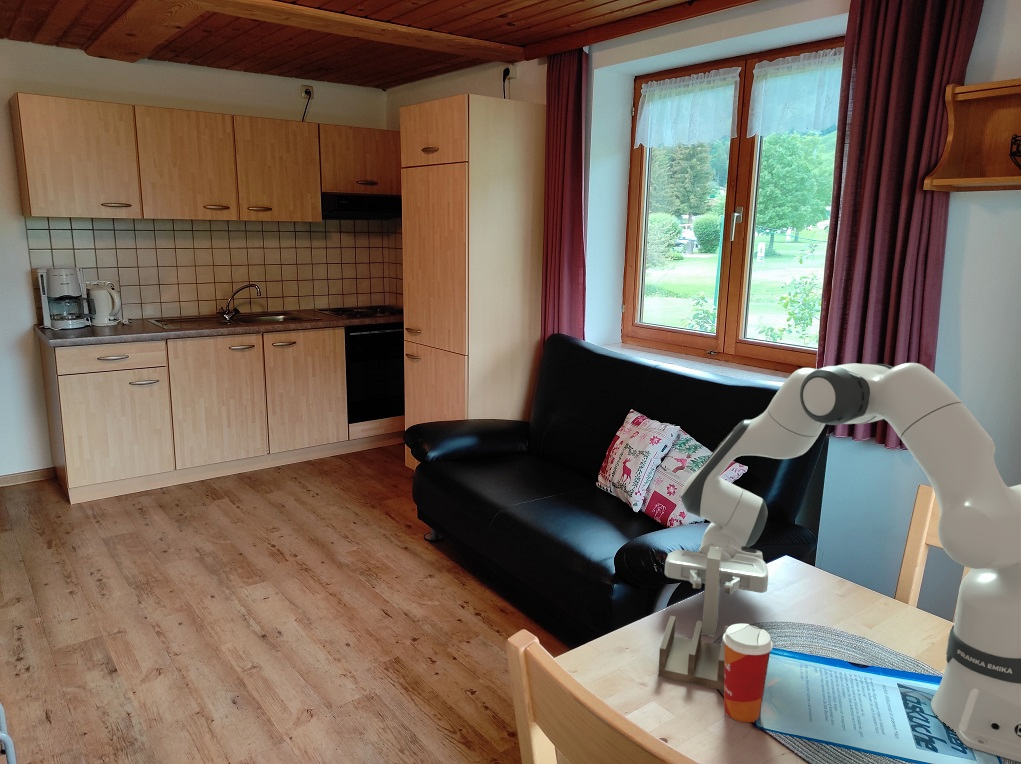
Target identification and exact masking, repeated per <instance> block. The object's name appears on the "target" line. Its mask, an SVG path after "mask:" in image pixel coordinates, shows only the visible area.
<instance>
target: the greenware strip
mask: <svg viewBox="0 0 1021 764" xmlns="http://www.w3.org/2000/svg"><path fill="white" fill-rule="evenodd" d="M722 552H723V548H722V547H715V546H710V549H709V553H708V556H707V567H706V581H705V583H704V596H703V597H704V598H703V609H702V610H703V611H702V612H703V613H702V622H703V623H702V635H705V636H709V637H716V636H715V635H716V631H717V626H718V619H719V616H718V615H719V603H720V592H721V591H720V589H721V586H720V579H721V566H722Z"/></svg>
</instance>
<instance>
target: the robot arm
mask: <svg viewBox="0 0 1021 764" xmlns="http://www.w3.org/2000/svg"><path fill="white" fill-rule="evenodd" d="M775 393H776V394H775V395H774V396H773V397H772V399H771V401H770V403H769V404H768V406H767V408H766V409H765V410H764V411H763V412H762V413H760V414H759V415H758V416H756V417H755V418H752V419H742V420H741V421H740V422H738V424H737V425H735V426H734V427H733V428H732V430H731V431H730V432H729V433H728V434H727V435H726V436H725V438H723V440H722V441H721V442H720V443H719V444H718V445H717V447H716V448H715V449H714V451H713V452H712V453H711V454H710V455H709V456H708V457H707V459H706V460H705V461H704V463H703V464H702V465H701V466H700V467H699V468H698V469H697V470H696V471H695V472H694V473H693V474H692V475H691V476H690V477H688V479H687V480H686V481H685V484H684V485H683V487H682V490H681V493H680V500H681V503H682V504H683V507H684V509H685V510H686V513H689V514H692V515H694V516H697V517H699V518H702V519H704V520H707V521H709V522H710V524H709V525H708V526H707V527H706V529H705V531H704V533H703V535H702V538H701V544H700V545H699V549H698V552H697V551H692V550H691V551H690V550H684V549H675V550H674V549H673V551H671V552H668V554H667V557H666V559H665V564H664V575H665V576H666V577H667V578H670V579H675V580H683V581H688V582H690V583H691V584H692V588H693V589H698V590H701V588H702V584H705V581H706V567H707V556H708V553H709V549H710V546H715V547H722V548H723V552H722V566H721V579H720V587H722V588H724V592H723V593H724V594H726V595H733V592H735V591H737V590H742V591H747V592H753V593H754V592H755V593H759V594H760V593H761V594H763V593H766V592H767V591H768V585H769V584H768V583H769V570H768V566H767V563H766V562H765V561H764V558H763V557H764V556H763V552H762V551H760V550H757V549H755V548H751V546H754V545H755V544H756V543H757V541H758V540H759V538H760V537H761V535H762V533H763V531H764V529H765V526H766V522H767V519H768V514H769V513H768V512H769V511H768V507H767V504H766V502H765V500H764V498H762V497H761V496H758V495H756V494H754V493H752V492H751V491H749V490H746V489H744V488H742V487H740V486H737V485H736V484H734V483H731V482H730V481H728V480H726V479H723V478H722V477H721V475H722V474H723V472H724V471H725V470H726V469H727V468H728V467H729V466H730V465H731V463H732V462H733V461H734V460H735V459H736V458H738V457H741V456H743V457H744V456H757V457H765V458H771V459H777V460H788V459H794V458H797V457H800V456H803V455H804V454H805V453H807V452H808V451H809V450H810V448H812V446H813V445H814V443H815V442H816V440H817V439H818V438H819V436H820V434H822V431H823V429H824V428H825V426H826V425H829V426H837V425H839V426H840V425H853V424H855V425H863V424H869V423H875V422H877V421H878V422H879V421H886V422H887V423H888V424H889V425H890V426H891V427H892V429H893V431H894V432H895V433H896V434H897V436H898V438H899V439H900V440H901V441H902V444H904V445H905V447H906V448H907V449H908V452H909V453H910V454H911V455H912V457H913V458H914V460H915V461H916V462H917V464H918V466H919V467H920V468H921V469H922V471H923V473H924V474H925V476H926V478H927V479H928V481H929V483H930V485H931V487H932V490H933V493H934V494H935V495H934V496H935V499H936V501H937V505H938V508H939V521H938V523H937V525H938V526H937V535H938V539H939V543H940V545H941V547H942V549H943V550H944V551H945V553H946V554H947V556H949V558H951V559H952V560H953V561H954V562H956V563H957V564H958V565H961V566H963V567H965V568H968V569H970V570H969V572H967V574H966V575H965V576H964V578H963V579H962V581H961V583H960V585H959V589H958V597H957V601H956V610H955V615H954V616H955V617H954V624H953V625H951V629H950V631H949V633H948V635H947V636H948V638H947V642H946V643H947V644H946V650H945V651H946V652H945V655H946V665H945V669H944V672H943V675H942V679H941V680H940V682H939V683H940V684H939V686H938V687H937V690H936V692H935V693H934V695H933V697H932V698H931V701H930V704H931V705H930V706H931V710H932V711H933V713H934V714H935V716H936V715H937V716H938V717H937V716H936V717H937V718H938V719H939V720H940V721H941V722H942V723H943V722H944V723H945V724H946V725H945V724H944V723H943V724H944V725H945V726H947V727H948V726H949V727H950V728H949V727H948V728H949V729H951V730H952V729H953V730H954V731H953V730H952V731H953V732H954V733H955V732H956V733H955V734H956V735H957V738H958V739H959V740H960V741H961V742H962V744H964V745H965V746H966V747H968V748H970V749H974V750H978V751H979V752H980V751H981V752H984V753H988V754H991V755H994V756H998V757H1001V758H1004V759H1008V760H1011V761H1014V762H1018V763H1021V484H1020V483H1019V484H1017V485H1012V486H1008V485H1006V483H1005V481H1004V480H1003V478H1002V476H1001V474H1000V472H999V469H998V468H997V464H996V461H995V456H994V455H995V453H996V445H995V442H994V440H993V438H992V437H991V435H989V433H988V432H987V431H986V430H985V429H984V427H983V426H982V425H981V423H980V422H979V421H978V420H977V418H975V416H974V415H973V414H972V413H971V411H970V410H969V409H968V408H967V406H966V405H965V404H964V403H963V402H962V401H961V399H960V398H959V396H958V395H956V393H954V391H953V390H952V389H951V388H950V387H949V386H948V385H947V384H946V383H945V382H944V381H943V380H942V379H941V378H940V377H938V376H937V375H936V374H935V373H934V372H933V371H932V370H930V369H929V368H927V366H925V365H923V364H921V363H917V362H905V363H901V364H899V365H895V366H891V365H888V364H885V363H884V364H883V363H873V364H868V363H856V362H855V363H845V364H838V365H826V366H823V367H820V368H813V367H802V368H798V369H797V370H796V369H795V370H794V372H792V373H791V375H790V376H789V377H788V378H787V379H786V380H785V381H784V382H783V383H782V385H781V386H780V388H779V389H778V391H777V392H775Z"/></svg>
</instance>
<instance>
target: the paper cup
mask: <svg viewBox="0 0 1021 764" xmlns="http://www.w3.org/2000/svg"><path fill="white" fill-rule="evenodd" d="M722 638H723V641H724V643H725V661H724V690H723V708H724V712H725V714H726V715H727V717H729V718H730V719H732V720H735V721H737V722H740V723H749V724H750V723H753V722H755V721H758V720H759V719H760V718H759V717H760V715H761V710H762V705H763V700H764V699H763V698H764V693H765V685H766V679H767V672H768V667H769V659H770V654H771V651H772V650H773V647H774V643H773V642H772V640H771V639H772V638H771V635H770V634H769V633H768V631H766V630H765V629H764V628H762V629H761V628H760V627H758V626H755V625H750V623H734V624H731V625H730V626H729V627H728V628H727V630H726V632H725V634H724V635H723V634H722Z"/></svg>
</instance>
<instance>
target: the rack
mask: <svg viewBox="0 0 1021 764" xmlns="http://www.w3.org/2000/svg"><path fill="white" fill-rule="evenodd" d="M702 624H703V620H702V621H701V620H697V621H696V624H695V627H694V632H693V636H692V638H688V637H684V636H683V637H682V636H677V635H675V632H676V631H675V630H676V616H674V615H669V618H668V622H667V624H666V626H665V627H666V628H665V631H664V634H663V637H662V640H661V642H660V643H661V644H660V647H659V655H658V656H659V659H658V675H657V676H658V677H659V678H660V677H661V678H664V679H670V680H673V681H679V682H683V683H689V684H693V685H698V686H702V687H707V688H711V689H716V690H720V691H724V661H725V643H724V641H723V637H722V639H721V644H718V643H713V642H707V641H702V635H703V634H702ZM728 627H729V626H727V625H724V628H723V633H722V636H723V635H724V634H725V632H726V630H727V628H728Z"/></svg>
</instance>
